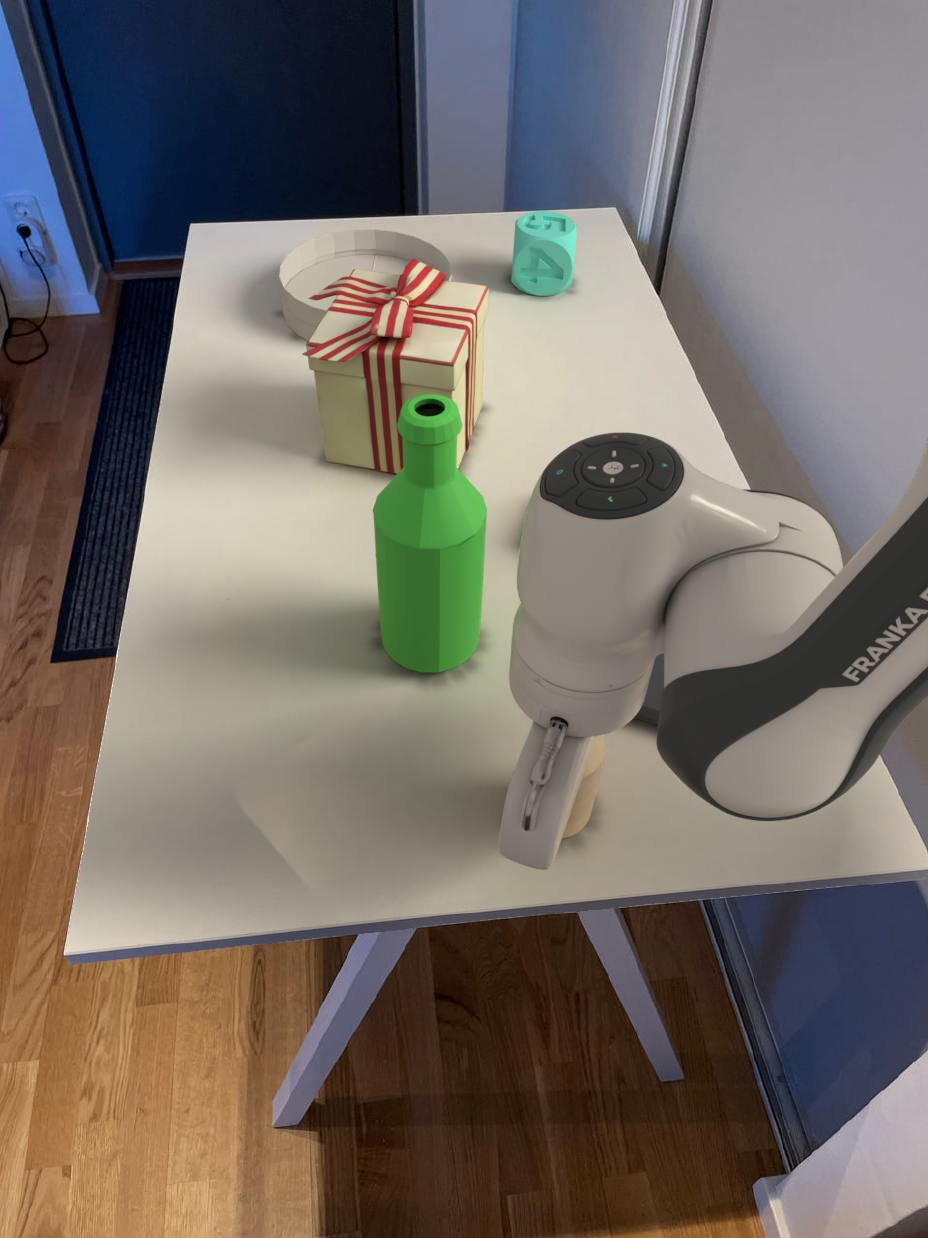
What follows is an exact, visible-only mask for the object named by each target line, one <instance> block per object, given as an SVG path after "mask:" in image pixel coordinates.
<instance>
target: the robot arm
mask: <svg viewBox="0 0 928 1238" xmlns="http://www.w3.org/2000/svg"><path fill="white" fill-rule="evenodd" d="M921 455H922V456H921V458H920V460H919V462H918V466H917V468H916V470H915V473H914V475H913V477H912V479H911V481H910V483H909V485H908V487H907V488H906V490H905V492H904V494H903V495H902V497H901V498H900V500H899V502H898V504H897V505H896V507H895V508H894V509H893V511H892V512H891V513H890V515H889V516H888V517H887V518H886V519H885V521H883V522H882V524H881V525H880V526H879V527H878V529H876V530H875V532H874V533H873V534H871V536H870V537H869V538H868V539H867V540H866V542H865V543H864V544H863V545H862V546H861V547H860V549H859V550H858V551H856V553H855V554H854V555H853V556H852V558H850V560H849V561H848V562H847V563H846V564H845V565H844V563H843V558H842V553H841V548H840V543H839V538H838V536H837V535H838V534H837V533H836V530H835V528H834V527H833V525H832V523H831V522H830V520H829V519H828V518H827V517H826V516H825V515H824V514H823V513H822V512H821V511H819V510H818V509H817V508H816V507H814V506H812V504H809V503H808V502H806V501H804V500H801V499H799V498H797V497H794V496H791V495H788V494H785V493H781V492H776V491H770V490H763V489H746V488H745V489H741V488H739V487H736V486H733V485H730V484H727V483H725V482H722V481H720V480H717V479H715V478H713V477H712V476H709V475H707V474H706V473H704V472H702V471H701V470H699V469H698V468H696V467H695V466H694V465H693V464H692V463H691V462H689V460H687V458H686V457H685V456H684V455H683V454H682V453H681V452H680V451H679V450H678V449H677V448H675V446H673V445H671V444H670V443H668V442H666V441H664V440H661V439H660V438H657V437H655V436H651V435H647V434H642V433H636V432H608V433H601V434H596V435H593V436H589V437H587V438H586V437H585V438H584V439H582V440H579V441H577V442H575V443H573V444H571V445H570V446H568V447H566V448H565V449H563V450H562V451H561V452H560V453H558V454H557V455H556V456H555V457H553V459H551V461H550V462H548V464H547V466H546V467H544V470H543V471H542V472H541V474H540V475H539V477H538V479H537V481H536V483H535V485H534V487H533V489H532V492H531V495H530V498H529V501H528V504H527V507H526V512H525V515H524V519H523V520H524V521H523V524H522V525H523V526H522V530H521V537H520V544H519V552H518V560H517V568H516V569H517V571H516V591H517V595H518V599H519V601H520V603H519V606H518V607H517V609H516V612H515V615H514V618H513V623H512V633H511V635H512V636H511V643H510V644H511V645H510V659H509V669H508V670H509V671H508V683H509V688H510V692H511V695H512V697H513V699H514V701H515V703H516V704H517V706H518V707H519V709H520V710H521V711H522V712H523V713H524V714H525V715H526V716H527V717H528V718H529V719H530V720H532V724H531V727H530V729H529V731H528V734H527V736H526V739H525V741H524V743H523V746H522V749H521V752H520V754H519V756H518V759H517V761H516V764H515V767H514V769H513V772H512V775H511V777H510V781H509V784H508V787H507V791H506V795H505V799H504V803H503V804H504V805H503V809H502V816H501V820H500V821H501V822H500V826H499V834H498V840H497V841H498V842H497V851H498V853H499V855H501V856H502V857H503V858H505V859H506V860H507V859H508V860H509V861H511V862H515V863H517V864H519V865H521V866H524V867H528V868H531V869H535V870H541V871H545V870H548V869H549V868H550V867H551V866H552V865H553V864H554V861H555V859H556V857H557V854H558V851H559V848H560V845H561V842H562V840H563V838H562V836H563V833H564V830H565V827H566V825H567V822H568V819H569V816H570V813H571V810H572V807H573V804H574V801H575V798H576V795H577V792H578V789H579V786H580V783H581V780H582V777H583V774H584V771H585V768H586V765H587V762H588V759H589V755H590V752H591V749H592V746H593V743H594V740H595V738H596V736H599V735H602V736H604V735H606V734H610V733H613V732H615V731H617V730H620V729H621V728H622V727H624V726H627V724H629V723H630V722H631V721H632V720H633V719H635V718H634V717H635V716H636V714H637V713H638V712H639V710H640V708H641V707H642V704H643V702H644V699H645V695H646V692H647V688H648V684H649V680H650V677H651V673H652V669H653V666H654V662H655V658H656V656H658V655H660V654H663V653H664V689H663V692H662V695H661V704H660V713H659V722H658V725H657V732H656V742H655V743H656V749H657V752H658V754H659V756H660V758H661V760H663V762H664V763H665V764H666V766H667V767H668V768H669V769H670V771H671V772H673V774H674V775H675V776H676V778H678V779H679V780H680V781H681V782H682V784H684V785H685V786H686V787H687V788H688V789H690V790H691V792H693V793H694V794H695V795H697V796H698V797H700V799H702V800H703V801H704V802H706V803H708V804H709V805H711V806H712V807H714V808H716V809H718V810H719V811H721V812H723V813H725V814H728V815H730V816H732V817H735V818H738V819H739V818H740V819H743V820H748V821H756V822H781V821H787V820H793V819H798V818H800V817H805V816H807V815H810V814H812V813H815V812H817V811H819V810H821V809H823V808H825V807H826V806H828V805H830V804H832V803H833V802H834V801H836V800H838V799H839V798H840V797H842V796H843V795H845V794H846V793H848V792H849V791H850V790H851V789H852V788H853V787H854V786H855V785H856V784H857V783H858V782H859V781H860V780H861V779H862V778H863V777H864V776H865V775H866V774H867V772H868V771H870V769H871V768H872V767H873V765H874V764H875V763H876V761H877V760H878V758H879V757H880V755H881V753H882V751H883V750H884V748H885V746H886V744H887V742H888V741H889V739H890V738H891V736H892V735H893V733H894V732H895V730H897V728H898V727H899V726H900V725H901V723H902V722H903V721H904V720H905V719H906V718H907V716H909V715H910V713H912V712H913V711H914V710H915V708H917V707H918V706H919V705H920V704H921V703H922V702H923V701H924V700H925V699H926V698H928V438H927V439H926V443H925V446H924V449H923V453H922V454H921Z"/></svg>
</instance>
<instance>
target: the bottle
mask: <svg viewBox="0 0 928 1238" xmlns="http://www.w3.org/2000/svg"><path fill="white" fill-rule="evenodd" d="M462 426H463V425H462V421H461V417H460V414H459V410H458V406H457V404H456V403H455V402H454V401H453V400H452V399H449V398H447V397H445V396H441V395H436V394H425V395H421V396H416V397H414V398H412V399H409V400H408V401H407V402H406V403H404V404H403V406H402V409H401V412H400V416H399V420H398V424H397V427H398V432H399V433H400V434H401V435H402V437H403V466H404V467H403V469H402V470H401V471H400V472H399V473H396V475H395V476H394V477H393V478H392V479H391V480H390V481H389V482H388V484H387V485H386V486H385V487H384V488H383V489H382V490H381V491H380V492H379V493H378V494H377V496H376V499H375V502H374V505H373V508H372V515H373V528H374V530H373V531H374V545H375V546H374V547H375V549H374V550H375V564H376V582H377V595H378V596H377V597H378V610H379V611H378V612H379V625H380V635H381V641H382V647H383V649H384V650H385V652H386V653H387V654H388V655H389V657H390V659H392V660H393V661H394V662H396V663H397V664H399V665H401V666H402V667H403V668H405V669H408V670H412V671H416V672H419V673H442V672H446V671H449V670H452V669H456V668H457V667H459V666H461V665H462V664H463V663H465V662H467V661H469V659H470V658H471V657H472V655H473V654H474V653H475V651H476V650H477V649H478V646H479V640H480V635H481V621H482V607H483V591H484V574H485V573H484V572H485V553H486V536H487V535H486V534H487V515H488V514H487V513H488V508H487V505H486V502H485V499H484V496H483V495H482V493H481V492H480V491H479V490H478V489H477V488H476V487H475V486H474V485H473V484H472V482H471V481H470V480H469V479H468V478H467V477H466V476H465V475H464V474H463V472H462V471H461V470H460V469H459V468H457V467H456V462H457V435H458V434H459V433H460V432H461V429H462Z"/></svg>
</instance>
